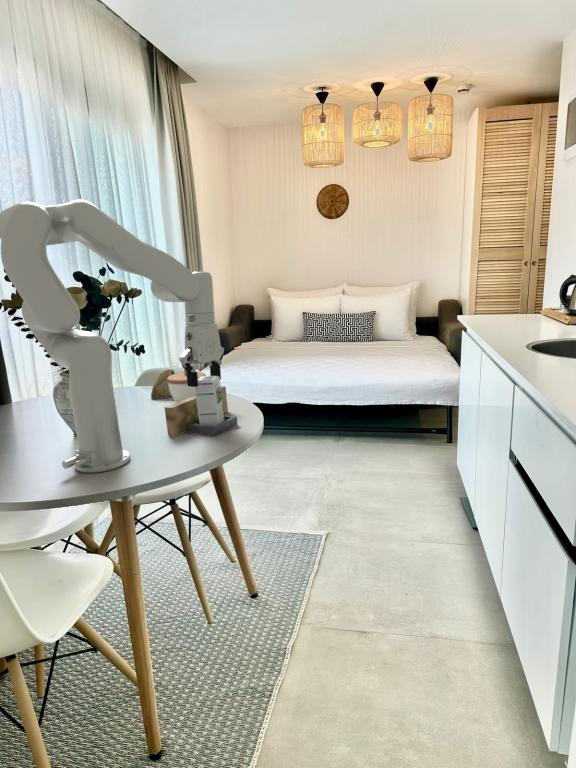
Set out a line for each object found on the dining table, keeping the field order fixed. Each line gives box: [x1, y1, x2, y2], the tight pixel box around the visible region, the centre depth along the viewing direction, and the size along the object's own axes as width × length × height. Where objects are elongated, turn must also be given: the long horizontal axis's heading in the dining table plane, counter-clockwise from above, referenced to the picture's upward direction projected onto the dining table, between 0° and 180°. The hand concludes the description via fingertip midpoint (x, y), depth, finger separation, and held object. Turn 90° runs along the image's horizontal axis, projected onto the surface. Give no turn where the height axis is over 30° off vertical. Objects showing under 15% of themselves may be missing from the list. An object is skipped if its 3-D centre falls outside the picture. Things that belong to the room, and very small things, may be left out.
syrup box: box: [195, 375, 225, 426], centre depth 144 cm, size 6×6×14 cm
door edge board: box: [164, 385, 229, 437], centre depth 151 cm, size 24×3×8 cm, turn 150°
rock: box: [150, 369, 176, 400], centre depth 185 cm, size 11×9×10 cm
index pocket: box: [186, 414, 238, 437], centre depth 145 cm, size 10×10×2 cm
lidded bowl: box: [167, 370, 207, 403], centre depth 174 cm, size 13×13×11 cm
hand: (204, 382), depth 142 cm, fingers open, 9 cm apart
